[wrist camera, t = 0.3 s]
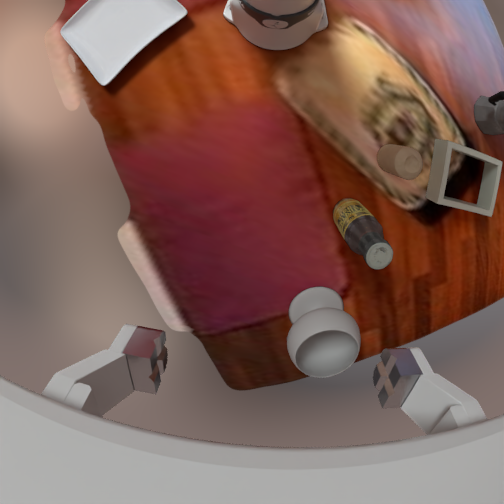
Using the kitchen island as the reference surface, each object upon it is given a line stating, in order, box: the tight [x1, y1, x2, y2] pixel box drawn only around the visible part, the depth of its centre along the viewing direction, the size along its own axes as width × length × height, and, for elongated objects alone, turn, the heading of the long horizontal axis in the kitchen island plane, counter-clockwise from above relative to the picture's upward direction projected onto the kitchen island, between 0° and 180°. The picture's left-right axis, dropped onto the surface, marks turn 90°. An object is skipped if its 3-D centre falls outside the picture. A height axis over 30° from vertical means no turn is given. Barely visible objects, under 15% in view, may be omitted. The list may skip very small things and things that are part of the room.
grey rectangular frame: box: [425, 139, 502, 217], centre depth 48 cm, size 12×16×5 cm
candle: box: [377, 144, 423, 180], centre depth 46 cm, size 6×6×10 cm
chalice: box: [287, 287, 361, 378], centre depth 57 cm, size 14×14×15 cm
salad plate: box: [61, 0, 187, 86], centre depth 40 cm, size 21×21×3 cm
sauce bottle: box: [333, 198, 393, 269], centre depth 46 cm, size 6×6×20 cm
